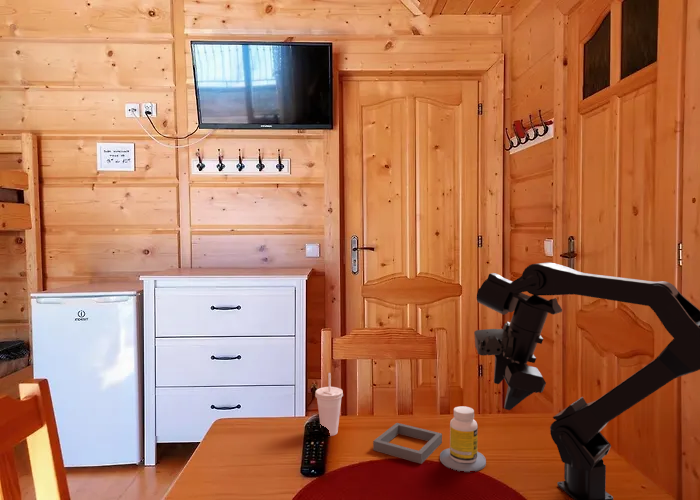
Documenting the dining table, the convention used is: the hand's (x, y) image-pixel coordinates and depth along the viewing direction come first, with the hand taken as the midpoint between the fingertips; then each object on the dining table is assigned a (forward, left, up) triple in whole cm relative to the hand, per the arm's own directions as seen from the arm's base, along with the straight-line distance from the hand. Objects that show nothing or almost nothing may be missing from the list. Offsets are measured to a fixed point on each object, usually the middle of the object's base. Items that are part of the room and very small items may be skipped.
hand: (501, 395), depth 92 cm
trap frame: (+10, +16, -13) cm, 23 cm away
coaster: (+2, +7, -13) cm, 15 cm away
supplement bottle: (+2, +7, -13) cm, 15 cm away
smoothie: (+21, +32, -14) cm, 40 cm away
